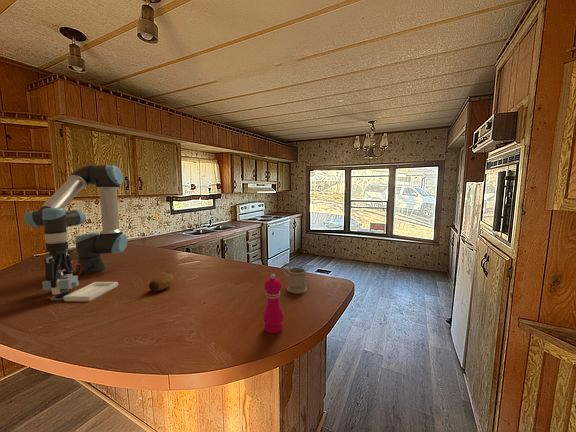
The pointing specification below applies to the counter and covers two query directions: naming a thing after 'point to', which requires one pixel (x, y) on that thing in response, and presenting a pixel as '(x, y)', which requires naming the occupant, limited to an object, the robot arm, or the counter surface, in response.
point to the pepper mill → (273, 306)
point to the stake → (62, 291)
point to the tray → (91, 291)
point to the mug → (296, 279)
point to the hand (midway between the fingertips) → (61, 290)
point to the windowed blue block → (63, 283)
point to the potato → (161, 281)
